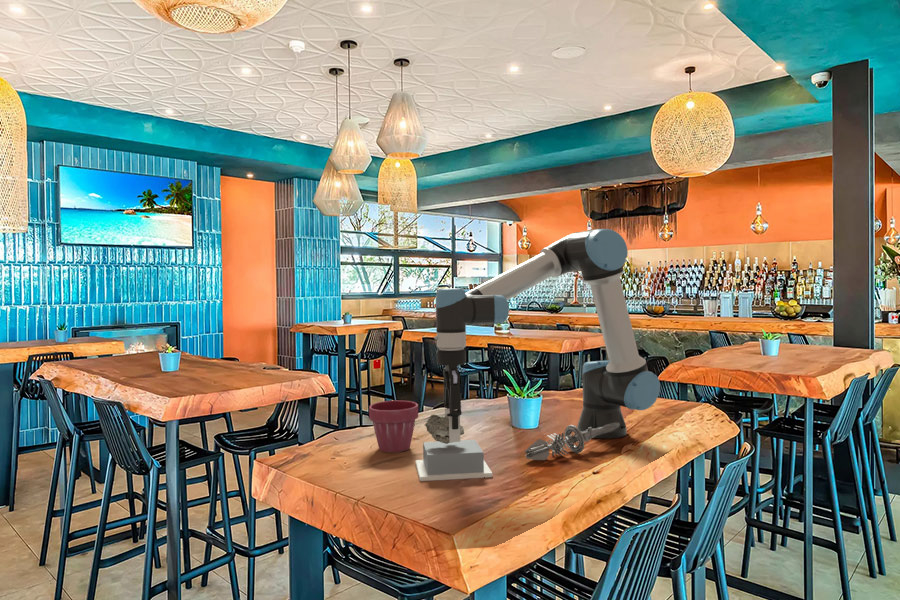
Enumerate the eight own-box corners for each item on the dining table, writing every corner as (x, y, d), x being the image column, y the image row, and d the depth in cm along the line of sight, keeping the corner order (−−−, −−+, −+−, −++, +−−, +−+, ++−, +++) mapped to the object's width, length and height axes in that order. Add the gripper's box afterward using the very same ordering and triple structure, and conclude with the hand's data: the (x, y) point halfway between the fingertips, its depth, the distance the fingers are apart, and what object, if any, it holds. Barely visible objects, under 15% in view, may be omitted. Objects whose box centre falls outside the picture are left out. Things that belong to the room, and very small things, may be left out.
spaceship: (632, 420, 169) (612, 406, 175) (536, 451, 152) (518, 434, 158) (626, 442, 172) (606, 427, 179) (532, 475, 155) (514, 458, 161)
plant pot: (376, 457, 163) (376, 411, 162) (364, 445, 176) (363, 402, 175) (425, 451, 168) (424, 407, 168) (410, 439, 181) (409, 398, 181)
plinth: (481, 460, 159) (481, 438, 159) (492, 477, 145) (492, 452, 145) (415, 463, 157) (415, 441, 156) (419, 481, 143) (419, 456, 143)
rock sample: (427, 431, 144) (436, 402, 150) (417, 445, 149) (426, 416, 156) (467, 447, 145) (474, 418, 151) (455, 461, 150) (462, 432, 157)
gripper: (432, 344, 160) (433, 428, 160) (441, 353, 139) (442, 449, 140) (459, 344, 161) (460, 427, 161) (472, 352, 140) (473, 447, 141)
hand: (452, 437), depth 151 cm, fingers closed on rock sample, 7 cm apart
